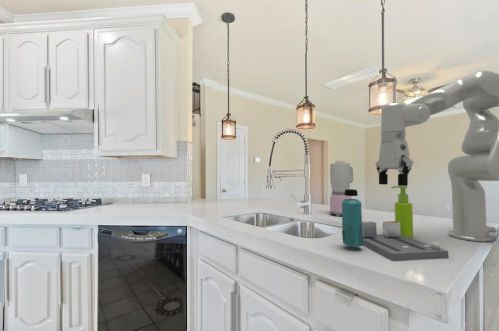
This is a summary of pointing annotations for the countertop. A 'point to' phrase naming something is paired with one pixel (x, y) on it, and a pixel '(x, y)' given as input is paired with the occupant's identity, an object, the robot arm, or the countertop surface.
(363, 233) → the fader tab
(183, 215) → the countertop surface
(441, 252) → the console
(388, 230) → the fader tab
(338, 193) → the blender
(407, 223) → the soap dispenser
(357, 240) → the beverage bottle
